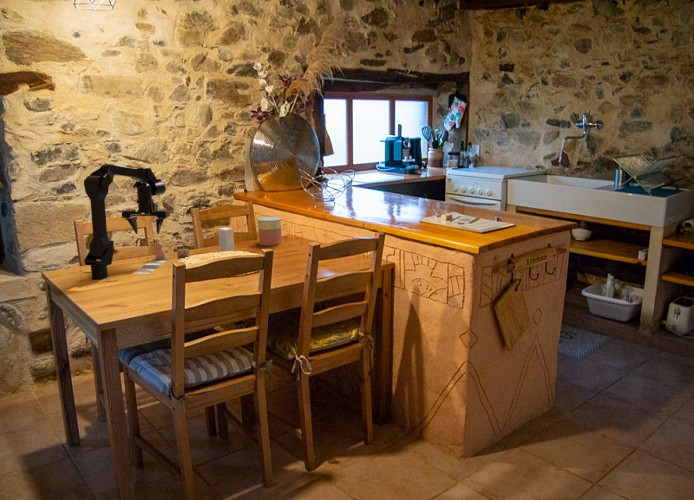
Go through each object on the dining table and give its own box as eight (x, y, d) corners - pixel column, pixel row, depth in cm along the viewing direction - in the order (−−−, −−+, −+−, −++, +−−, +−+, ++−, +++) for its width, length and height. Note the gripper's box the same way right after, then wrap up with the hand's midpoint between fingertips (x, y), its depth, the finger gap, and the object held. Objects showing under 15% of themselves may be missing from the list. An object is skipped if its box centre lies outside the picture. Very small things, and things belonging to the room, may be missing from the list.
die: (187, 260, 250) (186, 250, 249) (177, 259, 250) (177, 250, 249) (190, 257, 254) (189, 248, 253) (180, 257, 254) (180, 248, 253)
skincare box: (235, 254, 258) (233, 228, 255) (227, 256, 255) (225, 230, 252) (227, 252, 262) (225, 227, 259) (219, 254, 259) (217, 228, 256)
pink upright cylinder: (163, 260, 245) (161, 243, 243) (155, 260, 245) (153, 243, 243) (165, 257, 248) (164, 241, 247) (157, 257, 249) (156, 241, 247)
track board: (150, 276, 225) (150, 274, 224) (131, 276, 225) (130, 274, 224) (172, 259, 251) (172, 256, 250) (154, 259, 251) (154, 256, 251)
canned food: (261, 239, 287) (260, 216, 285) (284, 240, 286) (283, 216, 283) (256, 245, 277) (255, 220, 274) (279, 245, 275) (278, 220, 273)
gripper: (173, 194, 247) (175, 230, 250) (130, 194, 247) (133, 230, 251) (164, 198, 236) (166, 235, 239) (119, 198, 237) (122, 235, 240)
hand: (147, 233), depth 243 cm, fingers open, 9 cm apart
